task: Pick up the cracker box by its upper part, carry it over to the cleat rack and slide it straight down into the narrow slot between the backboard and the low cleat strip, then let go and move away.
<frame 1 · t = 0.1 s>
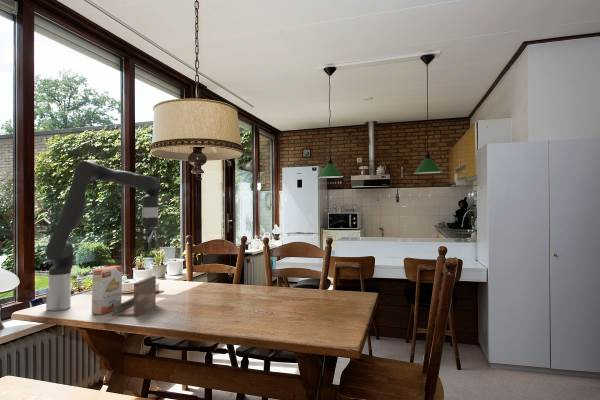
hand: (149, 249, 184), 29 cm above the table, tool pointing down, fingers open, 8 cm apart
cracker box: (107, 311, 179), on the table
cleat rack: (134, 310, 180), on the table
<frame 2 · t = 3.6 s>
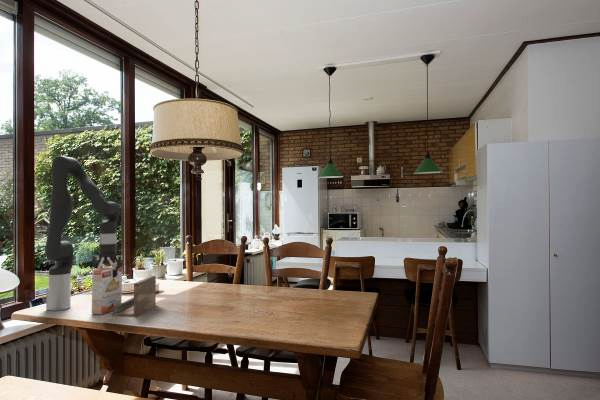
hand: (107, 277, 180), 16 cm above the table, tool pointing down, fingers closed on cracker box, 6 cm apart
cracker box: (107, 311, 179), on the table, touching gripper
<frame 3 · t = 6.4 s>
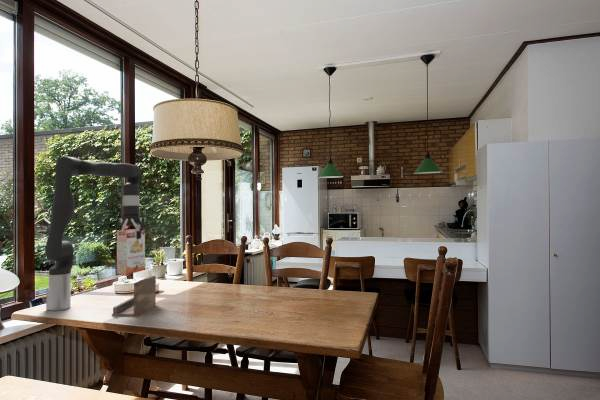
hand: (131, 239, 181), 35 cm above the table, tool pointing down, fingers closed on cracker box, 6 cm apart
cracker box: (131, 272, 180), point 18 cm above the table, touching gripper
when the fingers open (19 cm above the table, at t = 9.7 s): cracker box drops 3 cm, resting on cleat rack.
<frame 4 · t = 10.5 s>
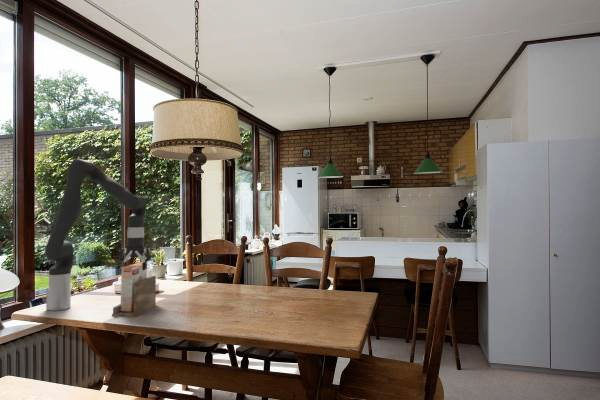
hand: (135, 269, 181), 20 cm above the table, tool pointing down, fingers open, 8 cm apart
cracker box: (134, 308, 180), point 1 cm above the table, touching cleat rack
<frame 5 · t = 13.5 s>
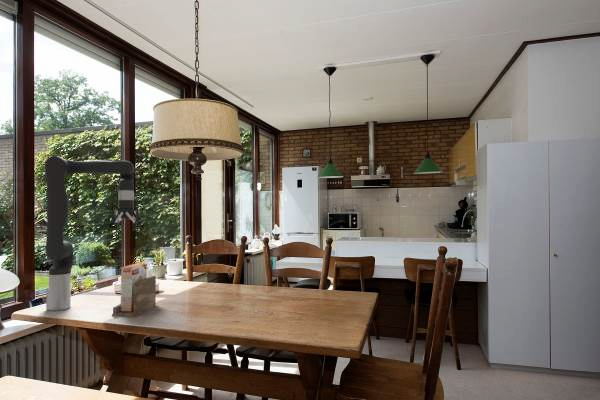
hand: (126, 230, 194), 38 cm above the table, tool pointing down, fingers open, 8 cm apart
nothing on the table moved.
at the end: cracker box inside the target area on the cleat rack (0.5 cm from its centre), point 0.8 cm above the cleat rack's base; cracker box tilted 0°; the gripper is holding nothing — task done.
